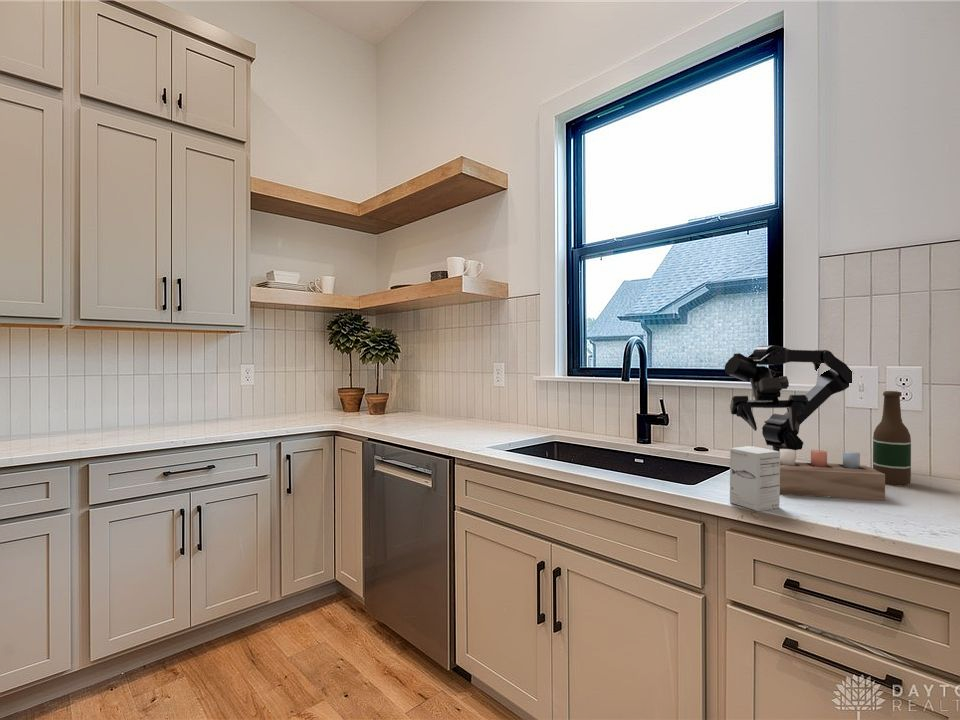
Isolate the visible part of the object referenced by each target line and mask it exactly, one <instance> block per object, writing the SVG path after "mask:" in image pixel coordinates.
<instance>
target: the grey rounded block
mask: <svg viewBox="0 0 960 720" xmlns="http://www.w3.org/2000/svg"><path fill="white" fill-rule="evenodd" d="M842 464H843V468H849V469H860V465H861V453H860V452H857V451H856V452H855V451H842Z"/></svg>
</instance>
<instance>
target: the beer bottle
mask: <svg viewBox="0 0 960 720" xmlns="http://www.w3.org/2000/svg"><path fill="white" fill-rule="evenodd" d="M882 396H883V406H882V416H881V420H880V422H879V423H878V424H877V426H875V429H874V431H873V437H872V469H874V470H876V471H879V472H881V473H883V474H885V485H888V484H889V486H897V485H902V486H901V487H905V485H906V486H909V485H910V484H911V481H912V480H911V479H912V440H911V439H912V437H911V434H910V431H909V429H908V428H907V427H906V425H905V424H904V422H903V419H902V411H901V399H900V398H901V397H902V393H901V392H900V391H897V390H885V391H883V393H882ZM908 484H909V485H908Z"/></svg>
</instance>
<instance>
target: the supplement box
mask: <svg viewBox="0 0 960 720" xmlns="http://www.w3.org/2000/svg"><path fill="white" fill-rule="evenodd" d="M729 466H730V467H729V503H730V504H735V505H738V506H739V507H744V508H747V509H750V510H753V511H756V512H763V511H768V510H769V509H770V510H773V508H775V509H778V507H779V508H780V502H781V501H780V495H781V494H780V451H774V450H773V449H768V448H763V447H759V446H758V447H757V446H754V445H753V446H752V445H746V446H739V447H730V453H729Z"/></svg>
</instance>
